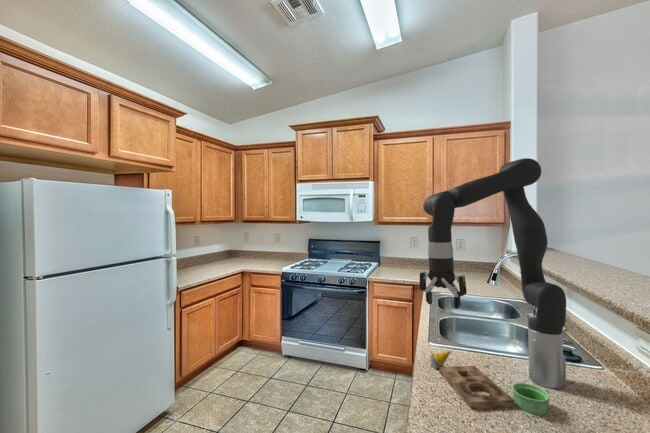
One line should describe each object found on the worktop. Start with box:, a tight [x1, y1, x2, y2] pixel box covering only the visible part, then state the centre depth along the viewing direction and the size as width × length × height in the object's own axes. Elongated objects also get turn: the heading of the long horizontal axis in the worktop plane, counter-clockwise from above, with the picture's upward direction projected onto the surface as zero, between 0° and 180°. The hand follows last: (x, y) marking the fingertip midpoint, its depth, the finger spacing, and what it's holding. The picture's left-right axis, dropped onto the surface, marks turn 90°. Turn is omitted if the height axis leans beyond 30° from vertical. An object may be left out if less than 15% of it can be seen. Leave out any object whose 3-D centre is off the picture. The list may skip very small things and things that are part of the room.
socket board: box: [438, 365, 515, 410], centre depth 95 cm, size 13×20×2 cm, turn 4°
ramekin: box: [512, 382, 551, 416], centre depth 86 cm, size 9×9×4 cm
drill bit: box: [430, 350, 452, 370], centre depth 108 cm, size 5×5×10 cm
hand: (442, 306), depth 95 cm, fingers open, 8 cm apart
